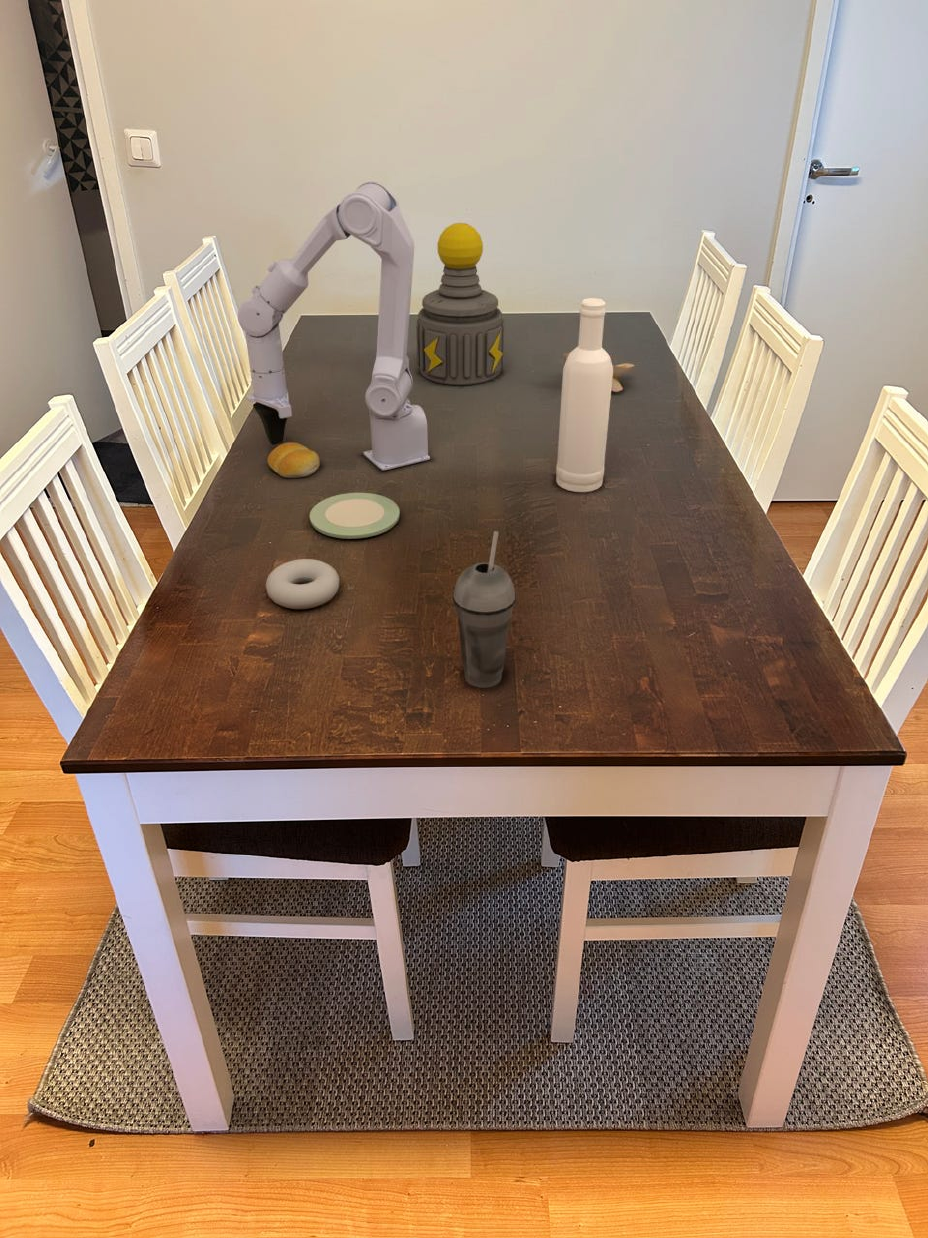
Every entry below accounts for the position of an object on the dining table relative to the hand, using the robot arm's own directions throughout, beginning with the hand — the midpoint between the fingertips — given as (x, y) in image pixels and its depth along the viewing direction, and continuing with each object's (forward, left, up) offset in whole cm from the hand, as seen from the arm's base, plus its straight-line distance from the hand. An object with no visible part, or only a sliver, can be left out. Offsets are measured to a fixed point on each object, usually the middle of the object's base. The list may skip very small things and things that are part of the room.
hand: (276, 442), depth 166 cm
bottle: (-39, +37, -2) cm, 54 cm away
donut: (+14, +46, -2) cm, 48 cm away
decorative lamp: (-48, -19, -2) cm, 52 cm away
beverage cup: (+2, +74, -2) cm, 74 cm away
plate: (-1, +30, -2) cm, 30 cm away
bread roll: (0, +8, -2) cm, 8 cm away
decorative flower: (-69, +3, -2) cm, 70 cm away
